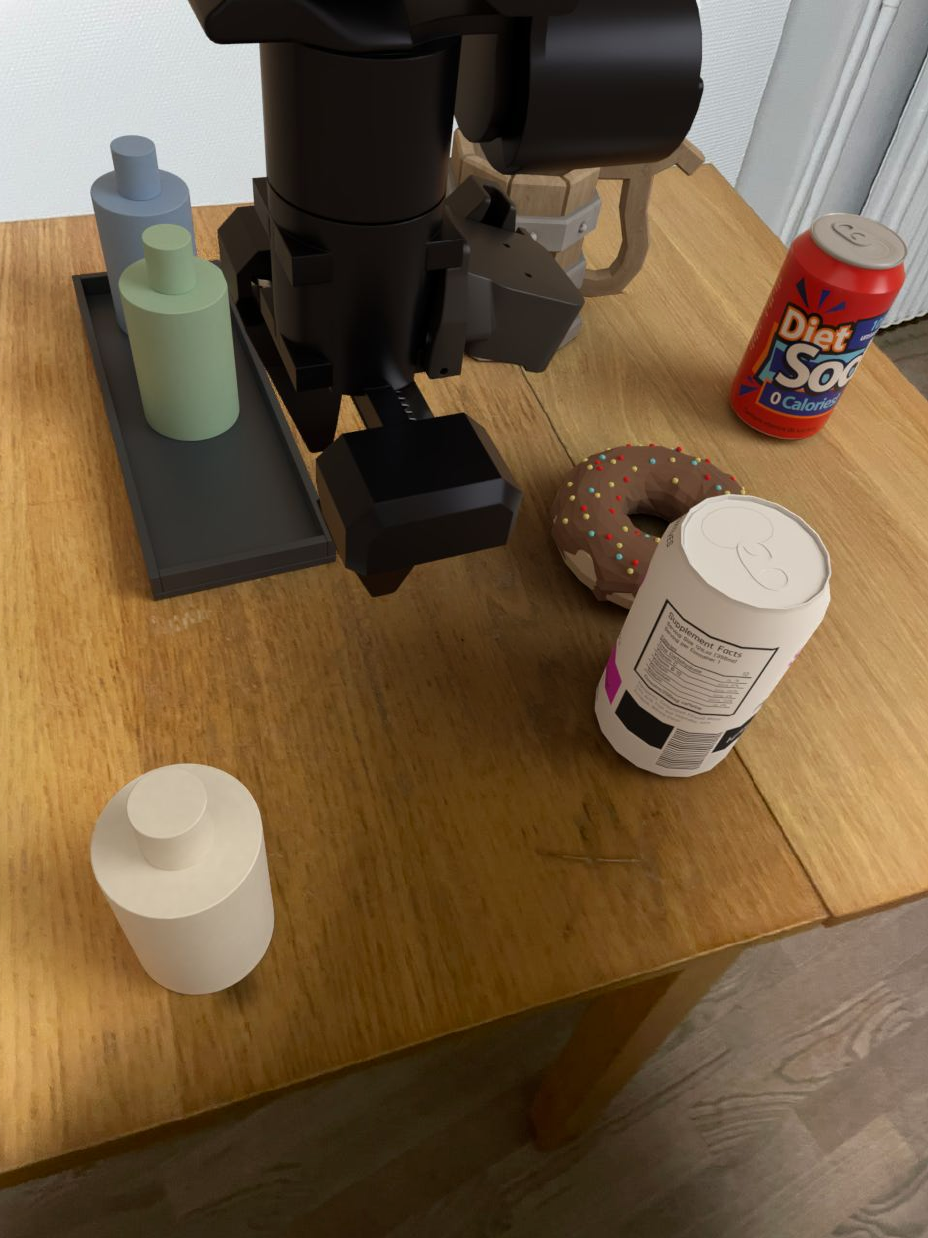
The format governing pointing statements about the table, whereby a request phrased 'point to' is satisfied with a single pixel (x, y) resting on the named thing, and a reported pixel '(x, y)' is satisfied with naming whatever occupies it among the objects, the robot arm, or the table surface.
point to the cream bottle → (187, 875)
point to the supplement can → (711, 632)
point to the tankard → (577, 211)
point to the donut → (626, 512)
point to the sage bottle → (180, 337)
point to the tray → (206, 471)
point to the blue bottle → (135, 207)
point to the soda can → (817, 324)
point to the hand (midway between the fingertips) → (349, 516)
